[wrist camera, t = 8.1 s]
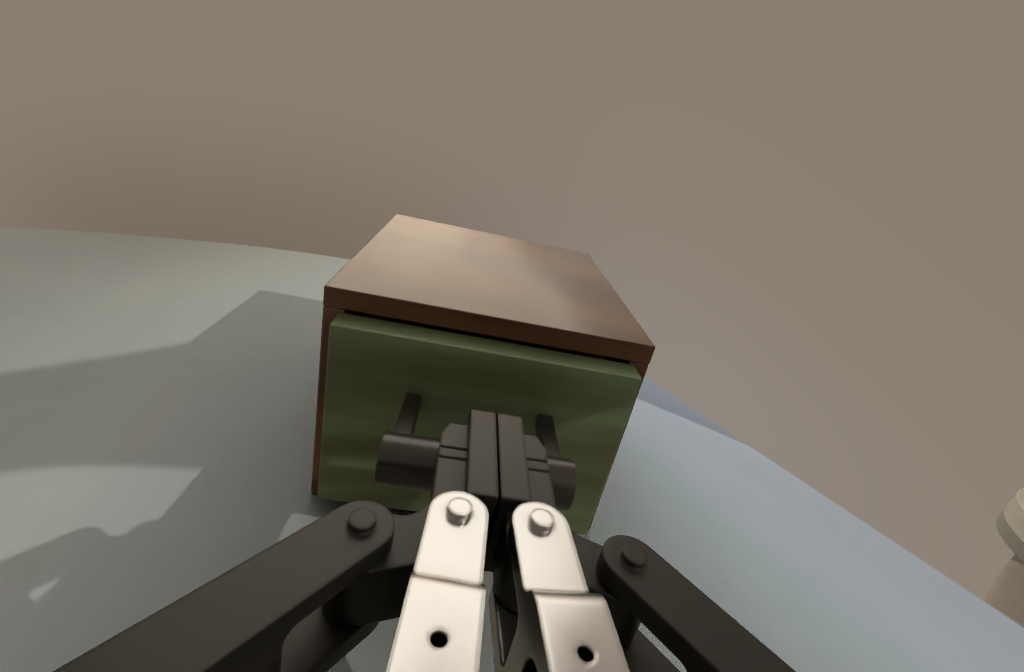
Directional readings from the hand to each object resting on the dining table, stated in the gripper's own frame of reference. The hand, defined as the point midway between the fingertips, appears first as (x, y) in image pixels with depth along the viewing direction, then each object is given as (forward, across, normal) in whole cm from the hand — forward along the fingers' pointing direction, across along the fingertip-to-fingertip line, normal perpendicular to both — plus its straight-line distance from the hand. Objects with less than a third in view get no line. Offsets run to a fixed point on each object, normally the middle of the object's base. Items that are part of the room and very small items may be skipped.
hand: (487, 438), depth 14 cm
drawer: (+8, 0, +7) cm, 11 cm away
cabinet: (+12, 0, +8) cm, 15 cm away
